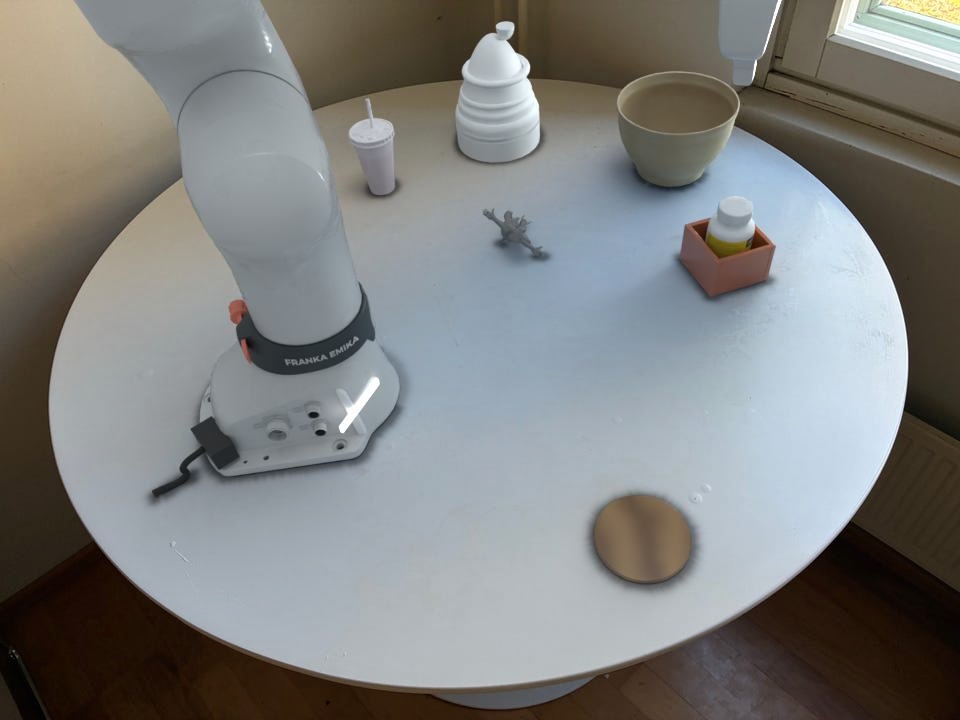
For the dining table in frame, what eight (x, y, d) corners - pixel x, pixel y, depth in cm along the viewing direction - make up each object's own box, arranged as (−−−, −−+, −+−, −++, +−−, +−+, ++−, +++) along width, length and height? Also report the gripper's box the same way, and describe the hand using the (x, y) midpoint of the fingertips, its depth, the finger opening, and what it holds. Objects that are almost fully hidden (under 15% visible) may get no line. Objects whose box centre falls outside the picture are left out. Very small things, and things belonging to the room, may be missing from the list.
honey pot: (546, 119, 123) (544, 6, 109) (531, 165, 115) (528, 49, 101) (468, 114, 125) (458, 3, 112) (448, 159, 117) (434, 45, 104)
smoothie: (412, 181, 114) (397, 95, 104) (386, 205, 111) (368, 118, 100) (378, 170, 117) (361, 85, 106) (352, 193, 113) (331, 107, 103)
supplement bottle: (745, 285, 94) (760, 222, 87) (699, 282, 95) (711, 218, 88) (744, 256, 98) (759, 193, 90) (700, 253, 99) (711, 190, 91)
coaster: (618, 597, 69) (618, 594, 68) (579, 514, 75) (579, 511, 74) (708, 565, 70) (709, 562, 70) (662, 486, 76) (663, 483, 76)
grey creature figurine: (554, 223, 105) (559, 245, 97) (526, 256, 107) (529, 280, 99) (497, 179, 102) (497, 197, 94) (470, 213, 105) (468, 234, 97)
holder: (710, 297, 93) (716, 263, 89) (679, 258, 98) (684, 224, 94) (766, 280, 94) (776, 245, 90) (733, 242, 99) (741, 208, 95)
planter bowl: (645, 127, 119) (651, 61, 111) (744, 156, 112) (759, 87, 104) (592, 181, 111) (594, 113, 103) (696, 216, 104) (707, 146, 96)
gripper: (756, -144, 71) (738, 4, 82) (711, -51, 60) (696, 109, 70) (829, -145, 69) (800, 8, 79) (797, -48, 57) (768, 116, 68)
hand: (751, 56), depth 75 cm, fingers open, 8 cm apart
